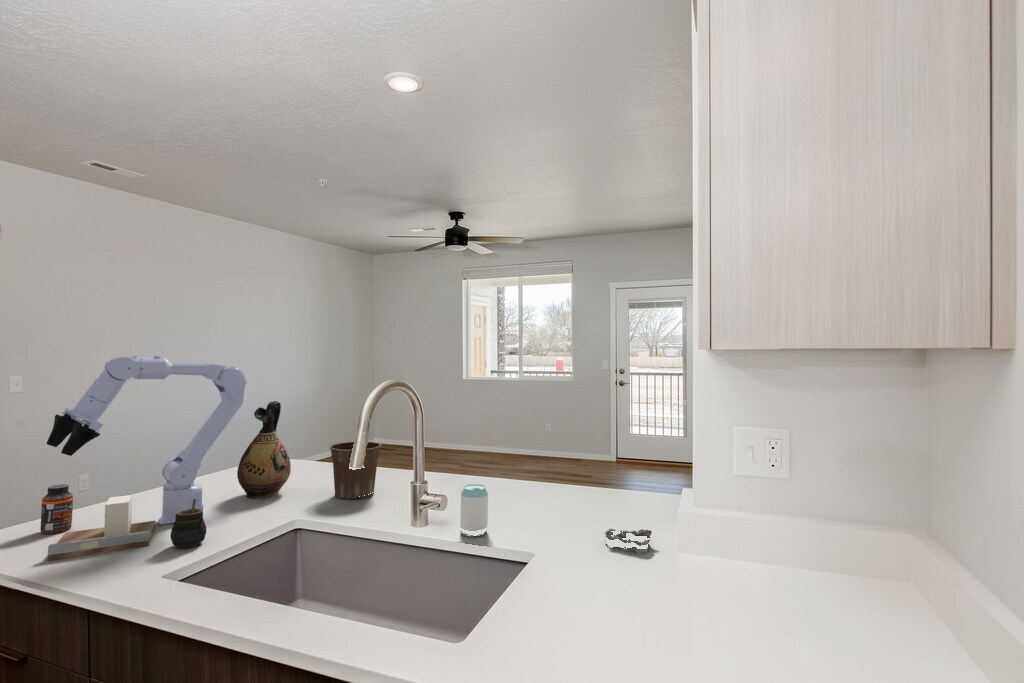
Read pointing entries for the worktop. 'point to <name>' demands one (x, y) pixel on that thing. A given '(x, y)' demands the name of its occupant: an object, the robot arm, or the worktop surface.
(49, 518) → the supplement bottle
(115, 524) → the carton
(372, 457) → the plant pot
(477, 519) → the can
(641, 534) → the egg carton
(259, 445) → the ceramic jug
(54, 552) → the rail
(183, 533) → the mate gourd
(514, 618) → the worktop surface
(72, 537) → the brown flat panel
